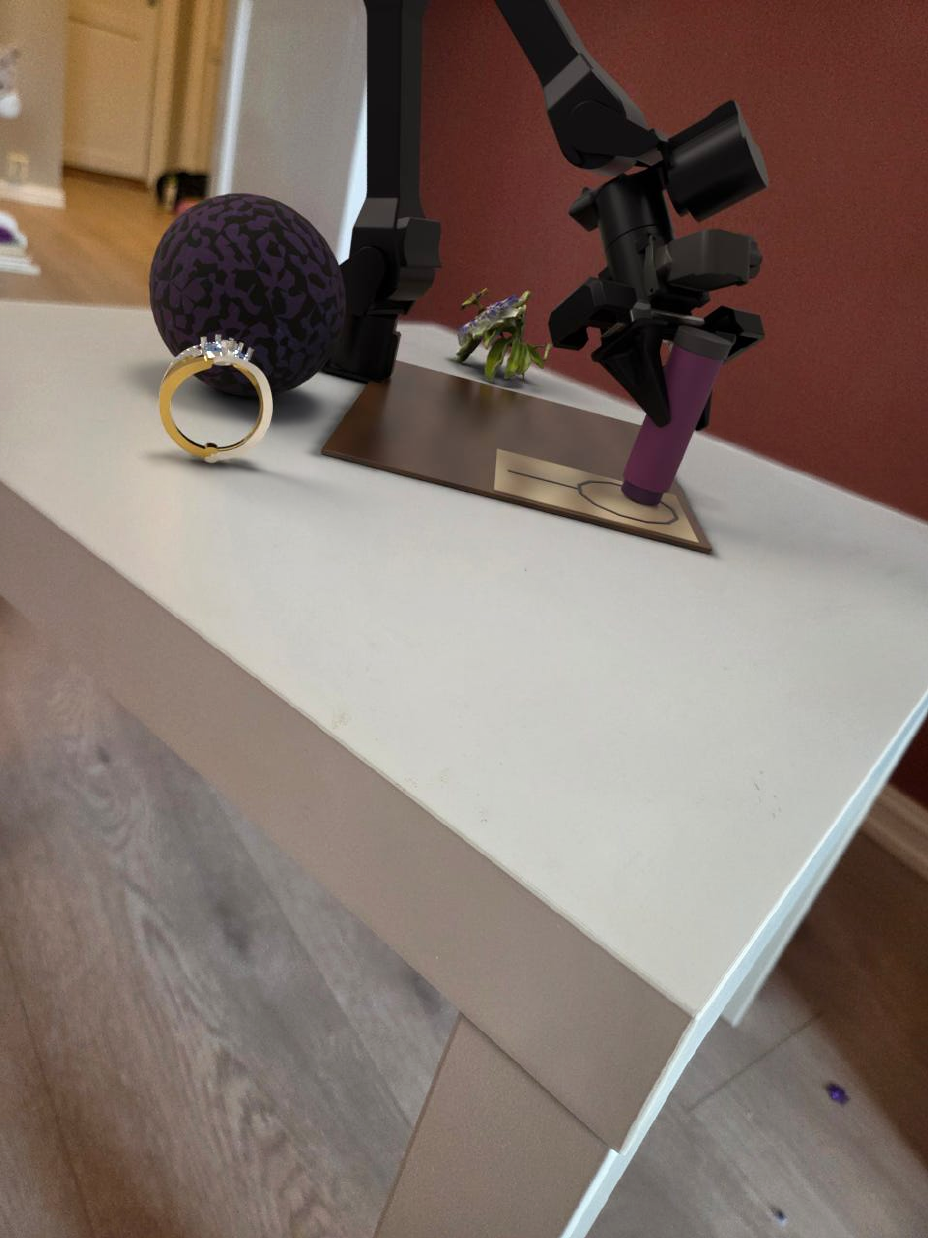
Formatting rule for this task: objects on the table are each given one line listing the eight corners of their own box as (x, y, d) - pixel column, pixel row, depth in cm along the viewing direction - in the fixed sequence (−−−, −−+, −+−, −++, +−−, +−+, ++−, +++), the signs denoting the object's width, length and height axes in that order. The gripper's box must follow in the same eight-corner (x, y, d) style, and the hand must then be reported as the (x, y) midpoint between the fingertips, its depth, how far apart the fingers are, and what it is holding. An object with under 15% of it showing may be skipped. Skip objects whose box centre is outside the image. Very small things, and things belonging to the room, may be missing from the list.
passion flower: (451, 406, 108) (452, 313, 109) (539, 410, 109) (539, 317, 110) (458, 370, 97) (460, 267, 98) (556, 375, 98) (556, 272, 99)
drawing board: (320, 453, 65) (321, 446, 64) (385, 360, 97) (386, 355, 96) (710, 554, 66) (713, 547, 66) (647, 430, 99) (648, 425, 98)
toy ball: (182, 352, 79) (200, 169, 73) (344, 395, 80) (377, 219, 73) (108, 386, 66) (122, 167, 59) (303, 439, 66) (339, 227, 60)
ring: (261, 458, 60) (278, 342, 57) (266, 476, 58) (284, 354, 54) (153, 444, 58) (164, 321, 54) (153, 461, 55) (165, 333, 52)
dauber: (618, 497, 71) (683, 331, 64) (613, 479, 74) (675, 321, 68) (667, 512, 71) (737, 348, 65) (660, 493, 75) (726, 337, 68)
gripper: (622, 152, 60) (674, 363, 57) (795, 209, 70) (845, 390, 67) (526, 249, 69) (566, 436, 66) (691, 287, 79) (732, 449, 76)
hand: (683, 427), depth 69 cm, fingers closed on dauber, 4 cm apart
